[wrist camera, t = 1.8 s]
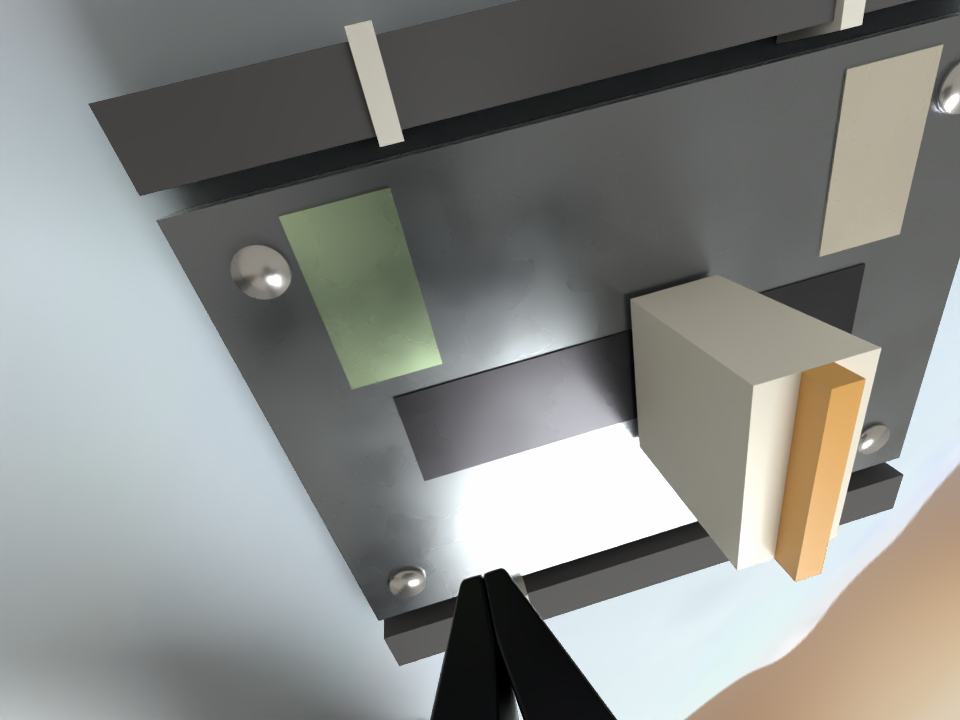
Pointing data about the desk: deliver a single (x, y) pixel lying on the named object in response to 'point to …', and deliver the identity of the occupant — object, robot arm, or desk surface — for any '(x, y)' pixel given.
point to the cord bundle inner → (618, 570)
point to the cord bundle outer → (429, 77)
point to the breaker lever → (751, 416)
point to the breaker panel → (574, 296)
